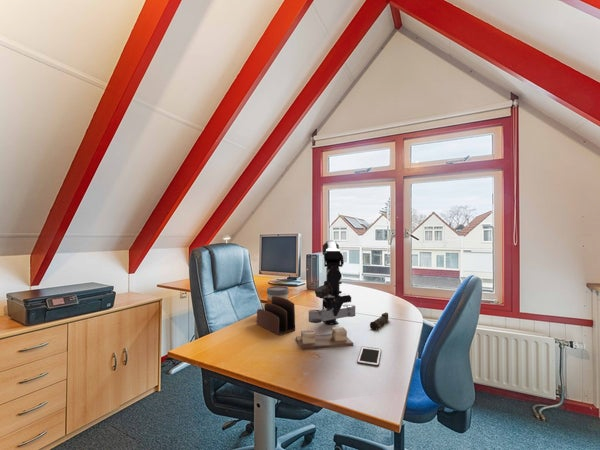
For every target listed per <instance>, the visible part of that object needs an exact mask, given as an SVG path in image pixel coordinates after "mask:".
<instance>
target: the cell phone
mask: <svg viewBox="0 0 600 450" xmlns="http://www.w3.org/2000/svg"><path fill="white" fill-rule="evenodd" d="M381 354H382V349H381V348H376V347H369V346H361V348H360V351H359V354H358V357H357V361H356V363H357V364H358V365H364V366H370V367H375V368H376V367H379V366H380V361H381Z"/></svg>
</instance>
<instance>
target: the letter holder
mask: <svg viewBox="0 0 600 450" xmlns="http://www.w3.org/2000/svg"><path fill="white" fill-rule="evenodd" d="M271 302H272V304H271V303H268V302H265V303H264V307H263V309H261V308H258V309H256V325H258V326H259V327H261V326H262V328H264V329H265V330H267V331H269V332H272V333H273V334H275V335H277V336H281V335H285V334H289V333H291V332H295V331H296V313H295V312H296V311H295V309H296V308H295V307H296V306H295V303H294V302H293V301H291V300H289V299H288V300H287V299H284V298H281V297H277V296H272V298H271Z"/></svg>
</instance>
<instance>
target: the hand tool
mask: <svg viewBox="0 0 600 450" xmlns="http://www.w3.org/2000/svg"><path fill="white" fill-rule="evenodd" d="M388 322H389V313H388V312H384V313H383V312H382V314H381V316H379V317H378V318H377V319H375V320H373V321H371V322H369V328H370V329H371V330H374V331H377V330H378V329H379V328H380V327H381V326H383V325H384V324H387V323H388Z"/></svg>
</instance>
